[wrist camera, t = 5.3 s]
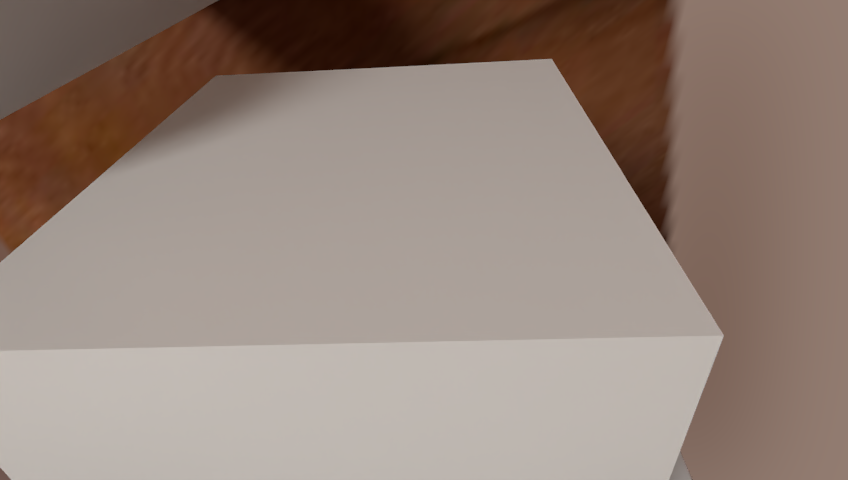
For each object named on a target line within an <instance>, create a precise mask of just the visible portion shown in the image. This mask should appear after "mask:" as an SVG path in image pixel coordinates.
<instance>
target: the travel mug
mask: <svg viewBox="0 0 848 480" xmlns="http://www.w3.org/2000/svg"><path fill="white" fill-rule="evenodd" d="M216 1H218V0H0V119H2V118H4V117H6V116H8V115H9V114H11V113H13V112H15V111H17V110H19V109H20V108H22V107H24V106H26V105H28V104H30V103H31V102H33V101H35V100H37V99H39V98H41V97H42V96H44V95H46V94H48V93H50V92H52V91H53V90H55V89H57V88H59V87H61V86H63V85H64V84H66V83H68V82H70V81H72V80H74V79H75V78H77V77H79V76H81V75H83V74H84V73H86V72H88V71H90V70H92V69H94V68H95V67H97V66H99V65H101V64H103V63H105V62H106V61H108V60H110V59H112V58H114V57H116V56H117V55H119V54H121V53H123V52H125V51H127V50H128V49H130V48H132V47H134V46H136V45H138V44H139V43H141V42H143V41H145V40H147V39H149V38H150V37H152V36H154V35H156V34H158V33H160V32H161V31H163V30H165V29H167V28H169V27H171V26H172V25H174V24H176V23H178V22H180V21H182V20H183V19H185V18H187V17H189V16H191V15H193V14H194V13H196V12H198V11H200V10H202V9H204V8H205V7H207V6H209V5H211V4H213V3H214V2H216Z"/></svg>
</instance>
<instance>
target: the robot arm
mask: <svg viewBox="0 0 848 480" xmlns="http://www.w3.org/2000/svg"><path fill="white" fill-rule="evenodd" d="M669 480H692V477H691V475H690V473H689V471H688V468H687V466H686V463H685V461H684V459H683V456H682V454H681V452H680V453H679V455H678V458H677V460H676V463H675V466H674V468H673V471H672V474H671V476H670V479H669Z"/></svg>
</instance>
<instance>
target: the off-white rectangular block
mask: <svg viewBox="0 0 848 480" xmlns="http://www.w3.org/2000/svg"><path fill="white" fill-rule="evenodd" d="M723 337H724V335H723V333H722V332H721V330H720V328H719V327H718V325H717V324H716V322H715V320H714V319H713V317H712V316H711V314H710V312H709V311H708V309H707V308H706V306H705V304H704V303H703V301H702V299H701V298H700V296H699V295H698V293H697V292H696V290H695V288H694V287H693V285H692V283H691V282H690V280H689V279H688V277H687V275H686V274H685V272H684V271H683V269H682V267H681V266H680V264H679V263H678V261H677V259H676V258H675V256H674V255H673V253H672V251H671V250H670V248H669V246H668V245H667V243H666V242H665V240H664V238H663V237H662V235H661V234H660V232H659V230H658V229H657V227H656V226H655V224H654V222H653V221H652V219H651V218H650V216H649V214H648V213H647V211H646V210H645V208H644V206H643V205H642V203H641V202H640V200H639V198H638V197H637V195H636V194H635V192H634V190H633V189H632V187H631V186H630V184H629V182H628V181H627V179H626V177H625V176H624V174H623V173H622V171H621V169H620V168H619V166H618V165H617V163H616V161H615V160H614V158H613V157H612V155H611V153H610V152H609V150H608V149H607V147H606V145H605V144H604V142H603V141H602V139H601V137H600V136H599V134H598V133H597V131H596V129H595V128H594V126H593V125H592V123H591V121H590V120H589V118H588V117H587V115H586V113H585V112H584V110H583V109H582V107H581V105H580V104H579V102H578V100H577V99H576V97H575V96H574V94H573V92H572V91H571V89H570V88H569V86H568V84H567V83H566V81H565V80H564V78H563V76H562V75H561V73H560V72H559V70H558V68H557V67H556V65H555V64H554V62H553V60H552V59H541V60H521V61H501V62H481V63H461V64H441V65H422V66H402V67H382V68H362V69H342V70H322V71H302V72H282V73H263V74H243V75H223V76H215V77H214V78H213V79H212V80H210V81H209V82H208V83H207V84H206V85H205V86H204V87H202V88H201V89H200V90H199V91H198V92H197V93H195V94H194V95H193V96H192V97H191V98H190V99H189V100H187V101H186V102H185V103H184V104H183V105H182V106H180V107H179V108H178V109H177V110H176V111H175V112H174V113H172V114H171V115H170V116H169V117H168V118H167V119H165V120H164V121H163V122H162V123H161V124H160V125H159V126H157V127H156V128H155V129H154V130H153V131H152V132H150V133H149V134H148V135H147V136H146V137H145V138H144V139H142V140H141V141H140V142H139V143H138V144H137V145H135V146H134V147H133V148H132V149H131V150H130V151H129V152H127V153H126V154H125V155H124V156H123V157H122V158H120V159H119V160H118V161H117V162H116V163H115V164H113V165H112V166H111V167H110V168H109V169H108V170H107V171H105V172H104V173H103V174H102V175H101V176H100V177H98V178H97V179H96V180H95V181H94V182H93V183H92V184H90V185H89V186H88V187H87V188H86V189H85V190H83V191H82V192H81V193H80V194H79V195H78V196H77V197H75V198H74V199H73V200H72V201H71V202H70V203H68V204H67V205H66V206H65V207H64V208H63V209H62V210H60V211H59V212H58V213H57V214H56V215H55V216H53V217H52V218H51V219H50V220H49V221H48V222H47V223H45V224H44V225H43V226H42V227H41V228H40V229H38V230H37V231H36V232H35V233H34V234H33V235H32V236H30V237H29V238H28V239H27V240H26V241H25V242H23V243H22V244H21V245H20V246H19V247H18V248H17V249H15V250H14V251H13V252H12V253H11V254H10V255H8V256H7V257H6V258H5V259H4V260H3V261H1V263H0V468H1V469H2V470H3V471H4V472H5V473H6V474H7V475H8V476H9V477H10V478H11V480H669V479H670V476H671V474H672V471H673V468H674V466H675V463H676V460H677V458H678V455H679V453H680V450H681V447H682V444H683V442H684V439H685V437H686V434H687V431H688V429H689V426H690V424H691V421H692V418H693V416H694V413H695V410H696V408H697V405H698V402H699V400H700V397H701V395H702V392H703V389H704V386H705V384H706V381H707V379H708V376H709V374H710V371H711V368H712V366H713V363H714V360H715V358H716V355H717V353H718V350H719V347H720V345H721V342H722V339H723Z"/></svg>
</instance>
